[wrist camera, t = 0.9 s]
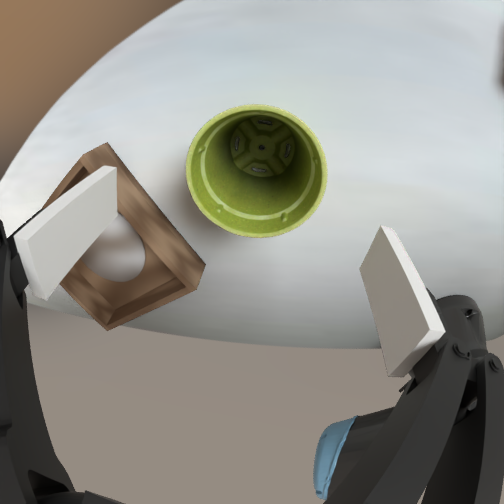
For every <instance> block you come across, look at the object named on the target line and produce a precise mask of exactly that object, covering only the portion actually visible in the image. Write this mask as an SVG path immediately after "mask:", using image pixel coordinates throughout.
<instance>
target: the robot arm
mask: <svg viewBox="0 0 504 504" xmlns="http://www.w3.org/2000/svg"><path fill="white" fill-rule="evenodd" d="M117 216H118V214H117V167H111V166H103V167H101V168H100V169H98V170H97V171H95V172H94V173H92V174H91V175H89V176H88V177H86V178H85V179H84V180H82V181H81V182H79V183H78V184H77V185H75V186H74V187H72V188H71V189H70V190H68V191H67V192H66V193H64V194H63V195H62V196H61V197H59V198H58V199H57V200H55V201H54V202H53V203H52V204H50V205H49V206H47V207H45V208H43V209H41V210H39V211H38V212H37V213H36V214H34V215H33V216H32V218H30V219H29V220H27V221H26V223H24V224H23V225H22V226H20V227H19V228H18V229H17V230H16V231H15V232H14V233H13V234H12V235H10V236H9V237H8V238H6V234H5V230H4V226H3V222H2V221H1V220H0V504H124V503H121V502H118V501H116V500H113V499H110V498H107V497H104V496H101V495H98V494H95V493H92V492H89V491H85V493H83V492H76V491H75V489H74V487H73V484H72V482H71V480H70V478H69V476H68V474H67V472H66V470H65V468H64V467H63V465H62V464H61V463H60V461H59V460H58V458H57V456H56V455H55V452H54V449H53V446H52V443H51V440H50V437H49V434H48V430H47V427H46V423H45V420H44V416H43V412H42V408H41V404H40V400H39V395H38V391H37V386H36V381H35V375H34V369H33V363H32V356H31V349H30V341H29V331H28V320H27V301H26V294H25V291H24V289H25V288H26V286H27V285H28V284H29V286H30V289H31V291H32V294H33V295H34V296H36V297H38V298H41V299H43V300H47V299H48V298H49V296H50V295H51V294H52V292H53V291H54V290H55V288H56V287H57V286H58V285H59V283H60V282H61V281H62V279H63V278H64V277H65V276H66V274H67V273H68V272H69V271H70V269H71V268H72V267H73V266H74V264H75V263H76V262H77V261H78V260H79V258H80V257H81V256H82V255H83V254H84V252H85V251H86V250H87V249H88V248H89V247H90V246H91V244H92V243H93V242H94V241H95V240H96V239H97V238H98V236H99V235H100V234H101V233H102V232H103V231H104V230H105V229H106V228H107V227H108V225H109V224H110V223H111V222H112V221H113V220H114V219H115V218H116V217H117ZM360 272H361V276H362V279H363V282H364V285H365V289H366V292H367V295H368V299H369V302H370V306H371V309H372V313H373V317H374V320H375V324H376V328H377V332H378V336H379V340H380V344H381V348H382V352H383V356H384V360H385V365H386V369H387V373H388V377H404V376H405V375H406V374H407V373H409V374H410V376H411V377H412V379H411V380H410V381H409V382H407V383H406V384H405V385H404V386H403V387H402V388H401V389H400V390H399V392H402V391H403V390H404V392H403V394H402V395H401V397H400V399H399V401H398V402H397V404H396V406H395V407H392V408H388V409H385V410H381V411H378V412H374V413H371V414H367V415H363V416H358V415H357V416H354V417H353V418H351V419H347V420H344V421H340V422H336V423H333V424H331V425H330V426H328V427H327V428H326V429H325V430H324V432H323V433H322V435H321V437H320V440H319V443H318V446H317V449H316V455H315V460H314V473H313V474H314V475H313V476H314V478H313V479H314V488H315V490H316V495H317V496H318V498H320V499H324V500H326V501H325V502H324V503H323V504H417V502H418V500H419V499H420V497H421V495H422V493H423V491H424V490H425V488H426V490H425V493H424V497H423V500H422V503H421V504H499V502H500V497H501V491H502V485H503V477H504V369H503V365H502V363H501V361H500V359H499V358H498V357H497V356H495V355H494V354H492V353H488V351H487V348H486V338H485V330H484V323H483V317H482V314H481V311H480V309H479V308H478V306H477V304H476V302H475V301H474V300H473V299H472V298H470V297H468V296H463V295H454V296H449V297H445V298H442V299H439V300H437V301H436V299H435V297H434V296H433V295H432V293H431V292H430V291H429V290H428V289H427V288H425V286H424V284H423V282H422V280H421V278H420V276H419V274H418V272H417V270H416V268H415V267H414V265H413V263H412V261H411V259H410V257H409V256H408V254H407V252H406V250H405V248H404V247H403V245H402V243H401V241H400V240H399V238H398V236H397V235H396V233H395V231H394V230H393V229H391V228H388V227H385V226H381V225H380V228H379V230H378V232H377V234H376V236H375V238H374V240H373V243H372V245H371V247H370V249H369V251H368V253H367V255H366V257H365V259H364V261H363V263H362V265H361V267H360ZM426 486H427V487H426Z"/></svg>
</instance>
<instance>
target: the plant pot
mask: <svg viewBox="0 0 504 504" xmlns="http://www.w3.org/2000/svg"><path fill="white" fill-rule="evenodd" d="M259 120H265V121H271V122H272V125H268V124H259V123H257V122H258V121H259ZM237 137H240V140H239V144H238V151H237V150H236V149H235V139H236V138H237ZM286 144H289V145H290V152H289V155H288V157H285V152H286ZM260 145H263V146H265V149H264V150H260V149H259V146H260ZM253 167H254V168H258V169H266V170H267V171H266V172H255V171H253V170H252V168H253ZM186 179H187V184H188V188H189V190H190V193H191V195H192V197H193V200H194V202H195V203H196V205H197V206H198V208H199V209H200V210H201V212H202V213H203V214H204V215H205V216H206V217H207V218H208V219H209V220H211V221H212V222H213V223H215V224H216V225H218V226H219V227H221V228H223V229H225V230H226V231H229V232H231V233H233V234H236V235H240V236H247V237H252V238H263V237H273V236H278V235H281V234H284V233H286V232H289V231H291V230H293V229H295V228H297V227H298V226H300V225H301V224H303V223H304V222H305V221H306V220H307V219H309V218H310V217H311V215H312V214H313V213H314V212H315V210H316V209H317V208H318V206H319V204H320V202H321V200H322V198H323V196H324V192H325V189H326V184H327V163H326V158H325V154H324V151H323V149H322V146H321V144H320V142H319V140H318V139H317V137H316V136H315V134H314V133H313V131H312V130H311V129H310V128H309V127H308V126H307V125H306V124H305V123H304V122H303V121H302V120H300V119H299V118H298V117H296V116H295V115H293V114H291V113H290V112H287V111H285V110H283V109H280V108H277V107H273V106H269V105H258V104H252V105H243V106H238V107H234V108H231V109H228V110H226V111H224V112H222V113H220V114H218V115H216V116H215V117H213V118H212V119H211V120H209V121H208V122H207V123H206V124H205V125H204V126H203V127H202V128H201V129H200V130H199V131H198V133H197V134H196V136H195V137H194V139H193V141H192V143H191V145H190V148H189V151H188V155H187V159H186Z"/></svg>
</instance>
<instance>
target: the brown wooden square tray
mask: <svg viewBox="0 0 504 504" xmlns="http://www.w3.org/2000/svg"><path fill="white" fill-rule="evenodd" d="M103 166H111V167H117V214H118V216H117V217H116V218H115V219H114V220H113V221H112V222H111V223H110V224H109V225H108V227H107V228H106V229H105V230H104V231H103V232H102V233H101V234H100V235H99V236H98V238H97V239H96V240H95V241H94V242H93V243H92V244H91V246H90V247H89V248H88V249H87V250H86V251H85V252H84V254H83V255H82V256H81V257H80V258H79V260H78V261H77V262H76V263H75V264H74V266H73V267H72V268H71V269H70V271H69V272H68V273H67V274H66V276H65V277H64V278H63V279H62V281H61V282H60V283H59V284H60V285H61V286H62V287H63V288H64V289H65V290H66V291H67V292H68V293H69V295H70V296H71V297H72V298H73V299H74V300H75V301H76V302H77V303H78V304H79V305H80V306H81V307H82V308H83V309H84V310H85V311H86V312H87V313H88V314H89V315H91V316H92V317H93V318H94V319H95V320H96V321H97V322H98V323H99V324H100V325H101V326H102V327H104V328H105V329H106V330H107V331H108V330H111V329H113V328H115V327H117V326H119V325H122V324H124V323H126V322H128V321H130V320H132V319H135V318H137V317H139V316H141V315H143V314H145V313H148V312H150V311H152V310H154V309H156V308H158V307H160V306H163V305H165V304H167V303H169V302H171V301H173V300H175V299H178V298H180V297H182V296H184V295H186V294H188V293H190V292H193V291H195V290H197V287H198V284H199V282H200V279H201V276H202V273H203V271H204V268H205V265H206V264H205V263H204V262H203V260H202V259H201V258H200V257H199V256H198V255H197V253H196V252H195V251H194V250H193V249H192V247H191V246H190V245H189V244H188V243H187V242H186V240H185V239H184V238H183V237H182V236H181V234H180V233H179V232H178V231H177V230H176V228H175V227H174V226H173V225H172V223H171V222H170V221H169V220H168V219H167V217H166V216H165V215H164V214H163V212H162V211H161V210H160V209H159V208H158V206H157V205H156V204H155V203H154V201H153V200H152V199H151V198H150V196H149V195H148V194H147V193H146V191H145V190H144V189H143V188H142V186H141V185H140V184H139V183H138V181H137V180H136V179H135V177H134V176H133V175H132V174H131V172H130V171H129V170H128V168H127V167H126V166H125V165H124V163H123V162H122V161H121V159H120V158H119V157H118V156H117V154H116V153H115V152H114V150H113V149H112V148H111V146H110V145H109V144H108V142H107V143H105V144H103V145H101V146H99V147H97V148H95V149H93V150H91V151H89V152H87V153H85V154H83V156H82V157H81V158H80V159H79V160H78V161H77V163H76V164H75V165H74V166H73V167H72V169H71V170H70V171H69V172H68V174H67V175H66V176H65V177H64V179H63V180H62V181H61V183H60V184H59V185H58V187H57V188H56V189H55V191H54V192H53V193H52V195H51V196H50V197H49V199H48V200H47V202H46V203H45V205H44V206H43V207H42V209H43V208H45V207H47V206H49V205H50V204H52V203H53V202H54V201H55V200H57V199H58V198H59V197H61V196H62V195H63V194H64V193H66V192H67V191H68V190H70V189H71V188H72V187H74V186H75V185H77V184H78V183H79V182H81V181H82V180H84V179H85V178H86V177H88V176H89V175H91V174H92V173H94V172H95V171H97V170H98V169H100V168H101V167H103Z"/></svg>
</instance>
